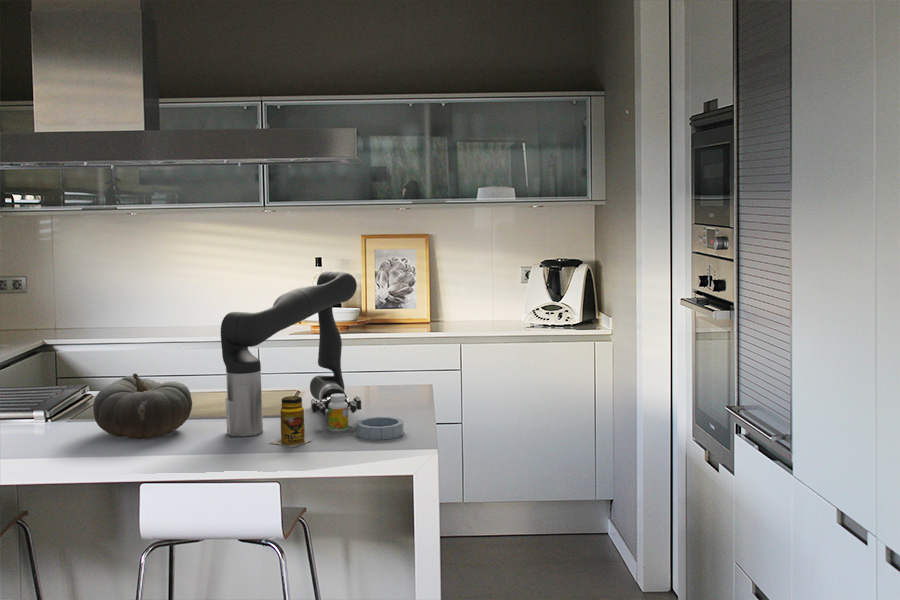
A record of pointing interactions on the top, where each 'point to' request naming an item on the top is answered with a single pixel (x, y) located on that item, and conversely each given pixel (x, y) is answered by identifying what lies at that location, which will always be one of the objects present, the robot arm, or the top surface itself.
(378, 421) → the bowl
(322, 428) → the mat
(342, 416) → the supplement bottle
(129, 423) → the gourd
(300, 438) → the condiment
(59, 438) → the top surface
